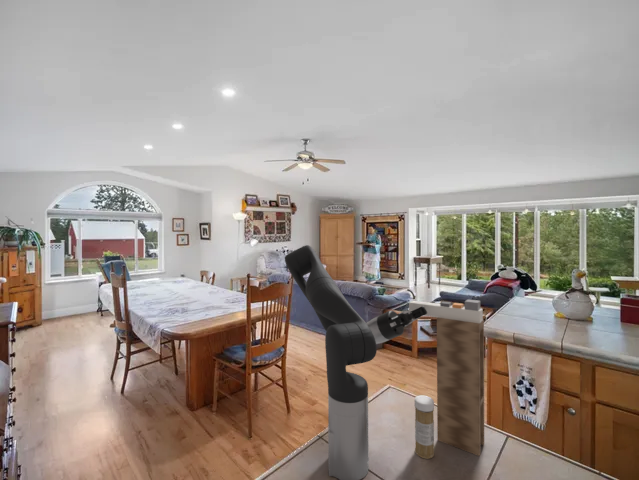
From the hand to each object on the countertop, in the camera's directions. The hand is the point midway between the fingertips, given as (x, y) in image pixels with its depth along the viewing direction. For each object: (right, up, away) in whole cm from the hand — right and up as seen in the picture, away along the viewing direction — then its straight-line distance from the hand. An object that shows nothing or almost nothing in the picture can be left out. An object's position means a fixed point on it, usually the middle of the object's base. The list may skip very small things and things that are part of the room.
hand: (430, 306), depth 85 cm
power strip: (+3, -2, -2) cm, 4 cm away
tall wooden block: (+6, -34, -4) cm, 35 cm away
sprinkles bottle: (-5, -34, -9) cm, 36 cm away
